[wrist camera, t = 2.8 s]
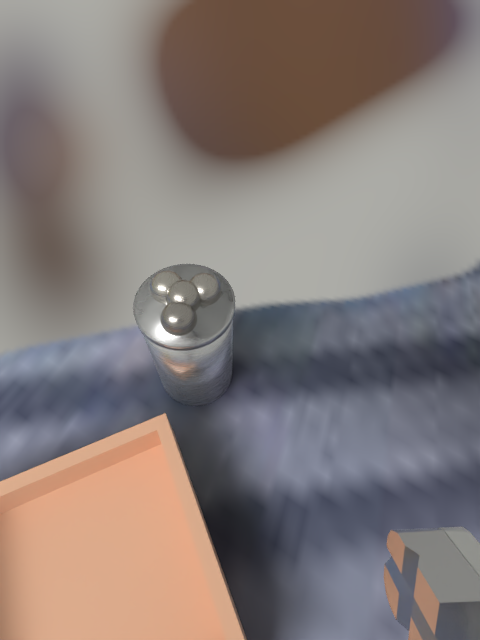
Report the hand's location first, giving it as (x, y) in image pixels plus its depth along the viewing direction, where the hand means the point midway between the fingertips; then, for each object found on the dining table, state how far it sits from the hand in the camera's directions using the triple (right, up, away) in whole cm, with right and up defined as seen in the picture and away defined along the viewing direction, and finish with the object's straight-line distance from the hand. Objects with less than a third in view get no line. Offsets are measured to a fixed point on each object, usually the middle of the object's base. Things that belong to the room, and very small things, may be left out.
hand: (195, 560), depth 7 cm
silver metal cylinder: (-2, +1, +21) cm, 21 cm away
